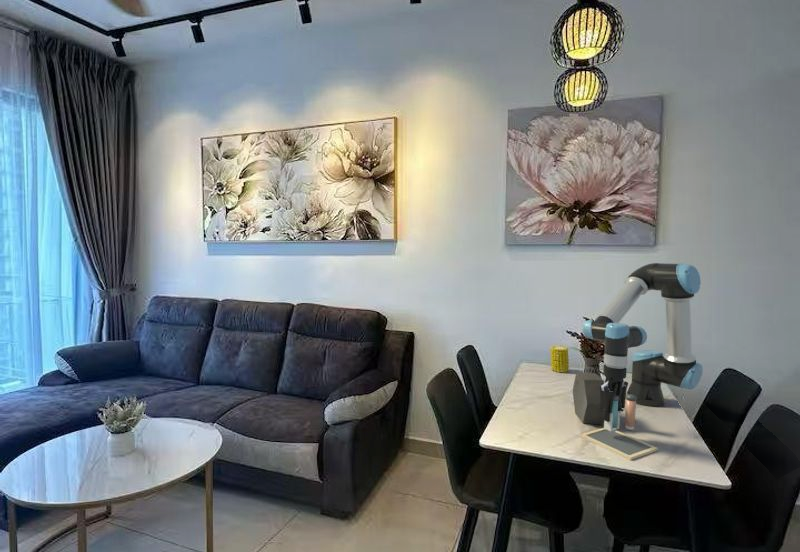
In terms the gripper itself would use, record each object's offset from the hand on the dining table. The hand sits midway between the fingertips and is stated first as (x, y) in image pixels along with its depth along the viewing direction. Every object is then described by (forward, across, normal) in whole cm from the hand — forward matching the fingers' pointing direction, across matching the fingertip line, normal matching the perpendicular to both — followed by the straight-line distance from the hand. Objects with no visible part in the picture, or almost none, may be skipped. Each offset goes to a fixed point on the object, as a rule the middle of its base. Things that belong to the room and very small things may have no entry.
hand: (611, 428), depth 156 cm
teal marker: (+1, 0, 0) cm, 1 cm away
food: (+3, -52, -69) cm, 87 cm away
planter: (+4, -8, -16) cm, 18 cm away
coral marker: (+3, -14, -2) cm, 15 cm away
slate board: (+4, +2, +4) cm, 6 cm away
